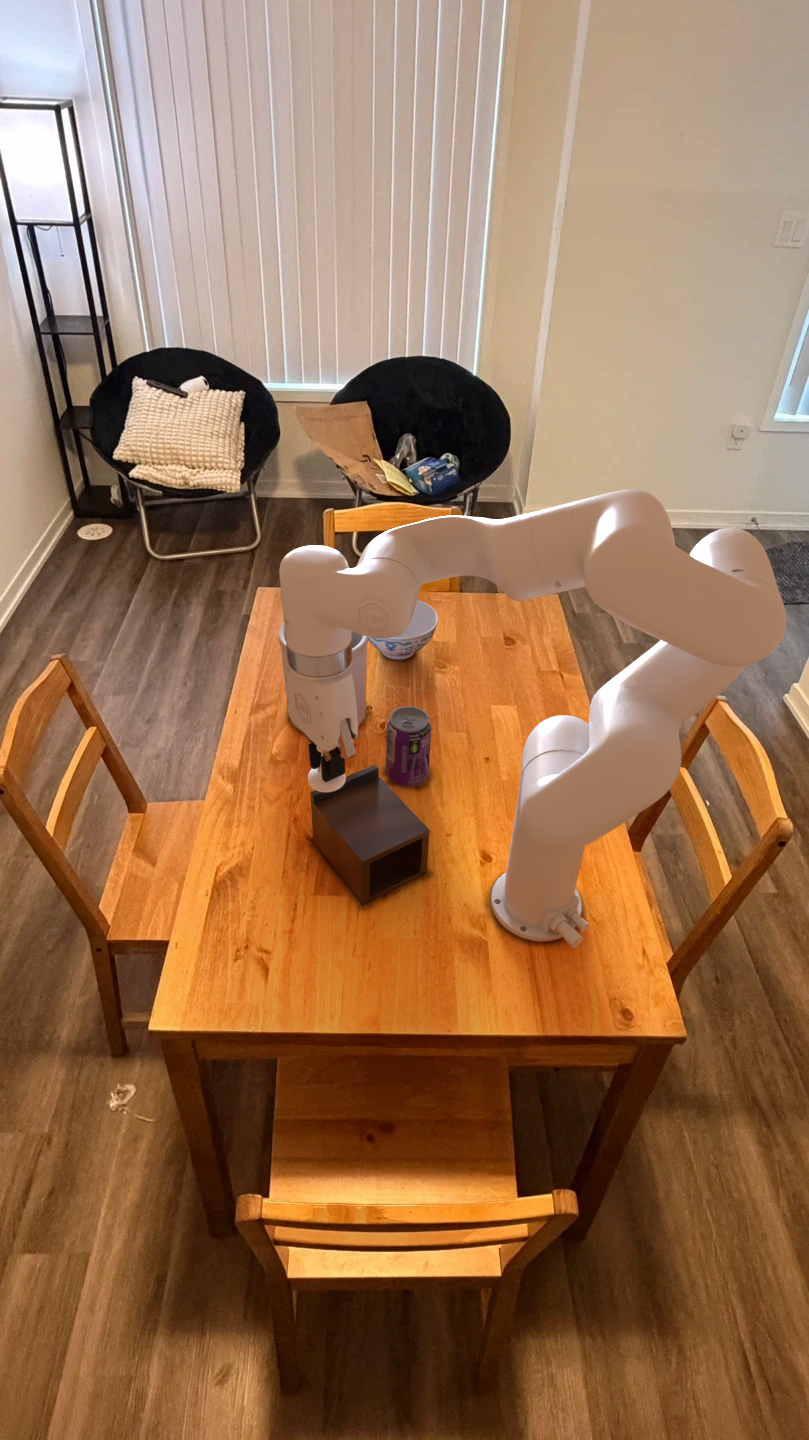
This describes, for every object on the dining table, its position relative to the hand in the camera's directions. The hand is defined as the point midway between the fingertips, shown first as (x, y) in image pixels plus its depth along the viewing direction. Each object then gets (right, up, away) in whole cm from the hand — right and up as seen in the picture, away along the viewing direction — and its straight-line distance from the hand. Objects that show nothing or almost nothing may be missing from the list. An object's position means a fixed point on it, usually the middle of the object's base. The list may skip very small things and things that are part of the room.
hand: (327, 769), depth 110 cm
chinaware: (+9, +20, +58) cm, 62 cm away
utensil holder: (-4, +7, +42) cm, 43 cm away
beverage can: (+10, -3, +30) cm, 32 cm away
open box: (+5, -14, +16) cm, 22 cm away
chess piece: (0, -1, +1) cm, 2 cm away
